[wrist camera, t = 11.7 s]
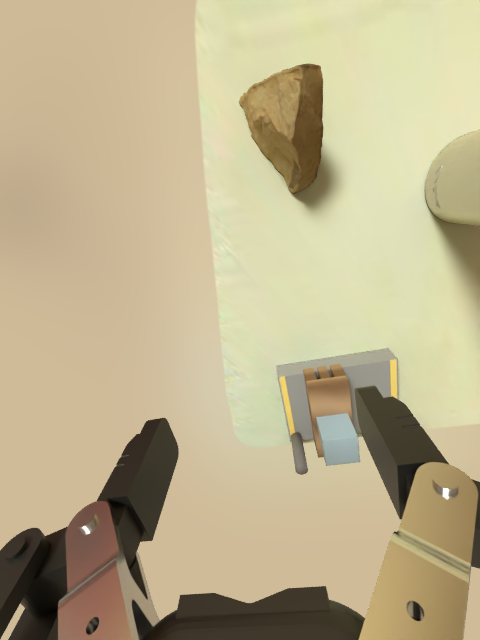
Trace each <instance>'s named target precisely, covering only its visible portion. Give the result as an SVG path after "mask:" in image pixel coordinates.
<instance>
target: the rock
mask: <svg viewBox="0 0 480 640" xmlns="http://www.w3.org/2000/svg"><path fill="white" fill-rule="evenodd" d="M239 103H240V105H241V106H242V107H243V109H244V112H245V116H246V119H247V121H248V125H249V129H250V131H251V133H252V135H251V136H252V138H253V139H254V140H255V142H256V143H257V145H258V146H259V148H260V150H261V152H263V153H264V154H265V156H266V157H267V158H268V159H270V160H271V162H272V163H273V164H274V167H275V168H276V169H277V170H278V171H279V172H280V173H281V174H282V175H283V176H284V177H285V180H286V183H287V186H288V188H289V190H290V191H291V192H292V193H293V194H294V193H296V192H298V191H300V190H302V189H304V188H306V187H307V186H309V185H310V184H311V183H312V182H313V180H314V179H315V178H316V176H317V170H318V165H319V163H320V159H321V147H322V137H323V123H322V109H323V107H322V106H323V78H322V73H321V67H320V66H319V65H314V64H303V65H298V66H295V67H293V68H290V69H286V70H282V71H281V72H279V73H275V74H273V75H271V76H270V77H269V78H267V79H264V80H263V81H262V82H259V83H256V84H254V85H252V86H251V87H250V88H249V90H248V91H247V93H244V94H243V96H241V97H240V101H239Z"/></svg>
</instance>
